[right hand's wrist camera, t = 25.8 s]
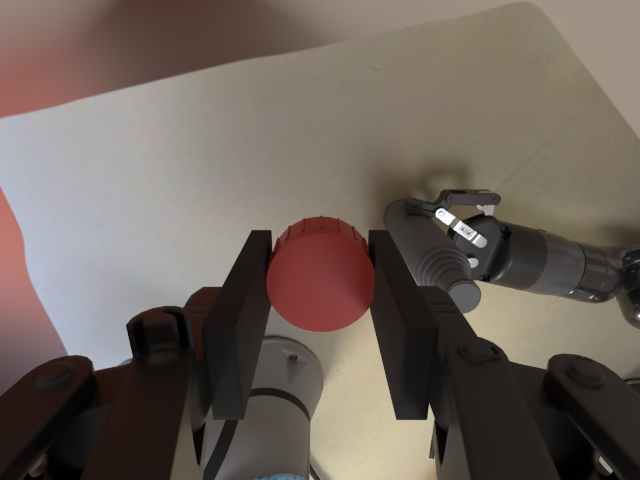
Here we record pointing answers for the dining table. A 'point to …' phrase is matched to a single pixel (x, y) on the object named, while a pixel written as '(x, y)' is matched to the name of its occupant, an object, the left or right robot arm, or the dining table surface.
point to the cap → (320, 275)
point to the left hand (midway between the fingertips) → (392, 228)
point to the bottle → (432, 256)
